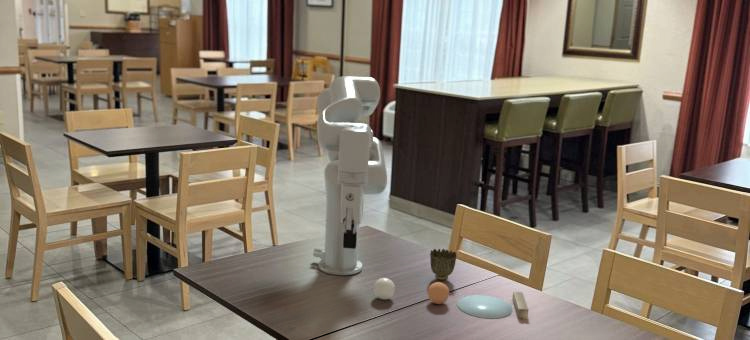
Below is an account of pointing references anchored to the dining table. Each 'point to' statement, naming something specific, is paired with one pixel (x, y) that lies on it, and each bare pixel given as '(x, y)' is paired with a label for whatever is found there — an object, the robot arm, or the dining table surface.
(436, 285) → the terracotta ball
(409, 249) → the dining table surface
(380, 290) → the ivory ball
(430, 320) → the dining table surface
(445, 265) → the cup
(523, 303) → the tan bar
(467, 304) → the light blue plate
